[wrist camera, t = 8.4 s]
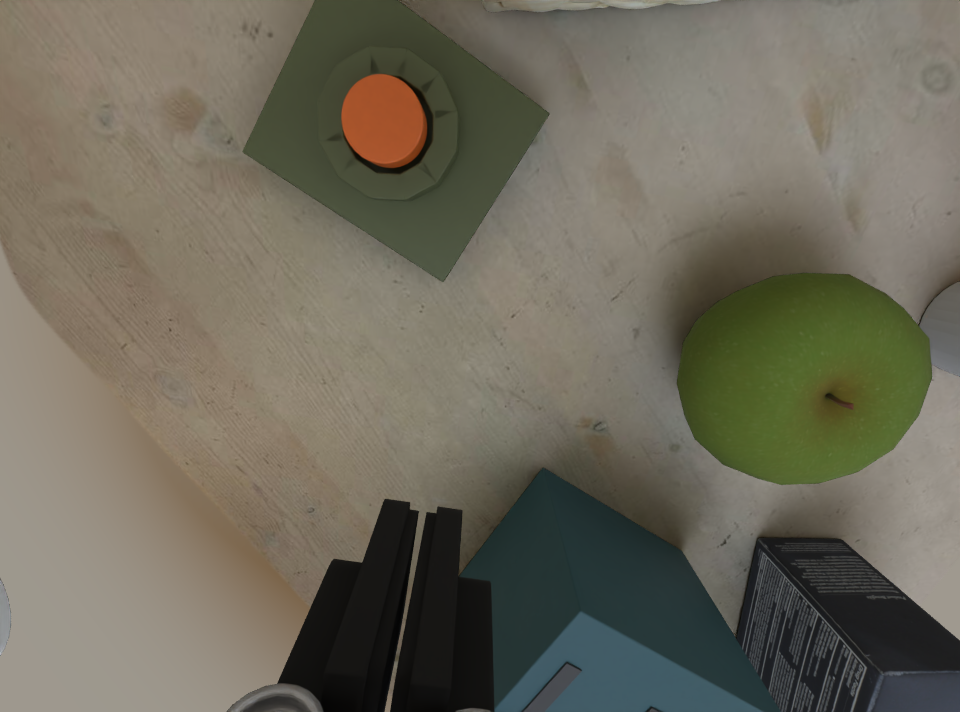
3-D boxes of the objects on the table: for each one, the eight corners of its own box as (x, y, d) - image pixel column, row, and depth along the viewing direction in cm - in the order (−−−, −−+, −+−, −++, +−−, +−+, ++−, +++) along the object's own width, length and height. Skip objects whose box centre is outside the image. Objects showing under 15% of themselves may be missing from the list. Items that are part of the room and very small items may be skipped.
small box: (815, 656, 36) (948, 827, 26) (730, 655, 36) (829, 826, 26) (848, 536, 33) (1012, 677, 23) (754, 535, 33) (878, 676, 23)
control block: (261, 157, 26) (223, 146, 22) (349, -22, 24) (324, -70, 20) (445, 277, 28) (440, 287, 24) (544, 122, 25) (555, 104, 22)
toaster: (417, 628, 35) (387, 833, 23) (542, 466, 31) (581, 612, 20) (549, 696, 37) (582, 916, 25) (682, 550, 33) (793, 729, 21)
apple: (633, 424, 30) (704, 518, 21) (655, 258, 27) (749, 279, 18) (799, 429, 31) (946, 524, 21) (839, 264, 28) (1030, 287, 18)
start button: (337, 139, 22) (326, 132, 21) (375, 67, 22) (366, 54, 20) (402, 183, 23) (396, 180, 21) (442, 115, 22) (438, 106, 20)
